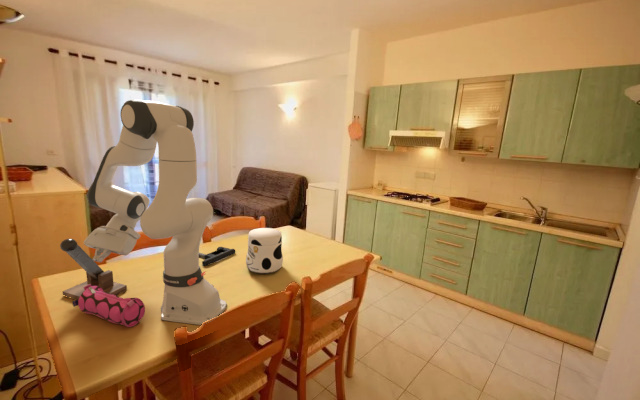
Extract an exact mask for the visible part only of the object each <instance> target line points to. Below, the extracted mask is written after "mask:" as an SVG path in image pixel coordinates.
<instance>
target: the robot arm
mask: <svg viewBox="0 0 640 400" xmlns="http://www.w3.org/2000/svg"><path fill="white" fill-rule="evenodd" d="M120 121H121V123H122V128H121V131H120V135H119V140H118V143H117V144H116V145H114V146H111V147H109V148H108V149H107V150H106V151H105V153H104V155H103V157H102V159H101V160H100V161H101V162H100V164H99V167H98V170H97V172H96V173H95V174H96V175H95V177H94V179H93V181H92V184H91V185H90V186H89V188H88V190H87V193H86V199H87V201H88V203H89V204H90V206H92V207H95V208H99V209H103V210H105V211H109V212H111V213H114V215H113V216H112V217H111V218H110V220H109V221H108V222H107V224H106V225H100V226H99V227H96V228H95V229H94V230H93V231H91V233H89V235H87V237H86V238H85V239H84V241H83V245H85V246H86V247H88V248H92V249H95V251H94V256H93V257H92V258H91V259H92V260H93V261H94V262H97V263H102V262H104V259H106V258H107V257H109V256H110V255H111V254H116V255H122V256H124V257H125V256H127V255H129V254H130V253H131V252H132V251H133V249H134V248H135V246H136V244H137V240H139V239H140V238H141V234H140V233H139V232H137V231H136V230H135V228H136V226H137V223H139V226H140V228H141V231H142V232H143V234H144V235H145V236H147V237H148V238H150V239H151V240H161V239H162V240H163V239H169V238H171V240H170V241H169V242H168V244H166V246H165V247H164V250H163V271H162V281H163V283H164V288H163V297H162V304H161V307H160V312H161V315H160V316H161V317H160V319H161V320H162V321H168V322H175V323H181V324H182V323H183V324H192V325H197V326H198V325H199V326H202V325H201V324H202V323H203V322H205V321H207V320H210V319H212V318H214V317H216V316H218V315H219V314H220V315H221V314H222V313H223V312H224V311H225V310H226V308H227V300H223V299H221V296H220V293H219V291H218V289H217V288H216V287H215V285H213V284H211V282H209V281H208V280H207V279H205V277H204V276H205V275H206V272H207V271H206V270H205V271H203V272H202V268H201V266H200V257H199V253H200V245H201V240H202V238H203V235H204V232H205V229H206V227H207V225H208V224H209V223H210V221H211V220H212V219H213V216H214V209H213V206H212V203H211V202H210V201H209V200H208V199H206V198H203V197H202V198H201V197H189V198H188V196H189V193H191V191H192V189H194V188H195V187H196V185H197V180H198V178H197V177H198V175H197V173H198V172H197V152H196V151H197V150H196V144H195V139H194V135H193V132H192V131H193V129H194V124H195V123H194V122H195V121H194V117H193V115H192V113H191V112H190V111H189V109H186V108H185V107H182V106H180V105H174V104H173V105H172V104H168V103H164V102H160V101H154V100H142V99H130V100H127V101H125V102H123V105H122V106H121V108H120ZM157 146H158V185H157V190H156V194H155V196H154V198H153V200H152V202H151V203H150V201H151V200H150V198H149V197H148V196H147V195H146V194H144V193H142V192H139V191H134V192H133V191H131V190H129V189H125V188H123V187H119V186H118V185H115V184H114V182H112V180H113V177H114V175H115V172H116V171H117V168H118V167H122V166H123V167H124V166H125V167H139V166H143V165H146V164H148V163H150V162H151V161H152V159H153V157H155V156H154V155H155V152H156V148H157ZM220 315H219V316H220ZM219 316H218V317H219ZM216 318H217V317H216Z"/></svg>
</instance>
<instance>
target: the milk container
mask: <svg viewBox="0 0 640 400" xmlns="http://www.w3.org/2000/svg"><path fill="white" fill-rule="evenodd" d="M247 239H248V240H247V247H248V248H247V254H246V257H245V264H246V267H247V269H248V270H249V272H251V273H255V274H261V275H262V274H263V275H266V274H267V275H268V274H272V273H275V272H278V271H279V270H280V269H281V267H282V266H283V263H284V262H283V261H284V255H283V253H282V243H283V242H282V239H283V238H282V231H280V230H279V229H276V228H272V227H259V228H254V229H251V230H250V231H249V232H248V235H247Z"/></svg>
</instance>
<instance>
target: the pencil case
mask: <svg viewBox="0 0 640 400" xmlns="http://www.w3.org/2000/svg"><path fill="white" fill-rule="evenodd" d="M83 288H84V290H85V291H84V292H83V293H82V294H81V296H80V298H79V300H72V306H73V308H75V307H77V306H78V308H79V310H80V311H81V312H83V313H84V314H89V315H94V316H97V317H98V318H101V319H103V320H105V321H108V322H110V323H112V324H115V325H116V324H117V325H121V326H122V325H123V326H125V327H127V328H131V327H134V326H136V325H137V324H138V323H140V321H141V320H142V319H143V317H144V316H145V313H146V306H145V303H144V301H143V300H142V299H140V297H139V298H138V297H126V298H125V297H124V298H123V297H121V296H119V295H114V294H110V293H106V292H104V291H103V289H102V288H101V287H99V286H91V284H89V285H86V286H84V287H83Z"/></svg>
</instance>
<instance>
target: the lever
mask: <svg viewBox="0 0 640 400" xmlns="http://www.w3.org/2000/svg"><path fill="white" fill-rule="evenodd" d="M59 247H60V249H61V250H62V251H63V252H65V253H66V254H67V255H68V256H69V257H70V258H72V260H73V261H75V263H76V264H78V265H79V266H80V267H81V268H82V269H83V270H84V271H85V273H86V272H87V273H88V274H89V275H90V276H91V277H92V278H93V279H94V280H95V281H98V274H101V273H103V272H105V271H104V270H103V269H102V268H101V267H100V266H99V265H98V263H96V261H94V260H92V258H91V256H90V255H89V254H88V253H86V251H85V250H84V249H83V248H82V247H81V246H80V245H79V244H78V242H77V241H76V240H75V239H73V238H66V239H63V240H62V241H61V242H60V245H59ZM98 282H99V281H98Z"/></svg>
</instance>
